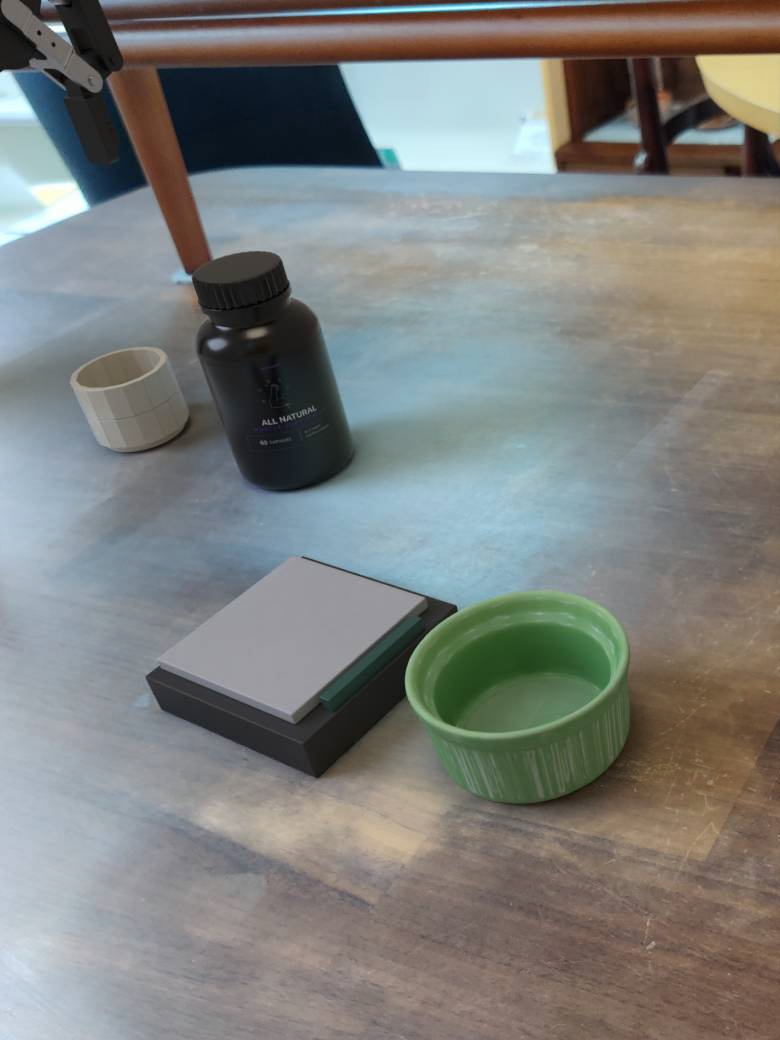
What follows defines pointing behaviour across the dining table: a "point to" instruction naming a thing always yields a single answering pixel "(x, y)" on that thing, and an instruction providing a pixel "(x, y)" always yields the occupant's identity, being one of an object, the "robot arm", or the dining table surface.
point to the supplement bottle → (269, 373)
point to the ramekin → (524, 694)
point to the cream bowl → (131, 398)
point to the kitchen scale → (298, 662)
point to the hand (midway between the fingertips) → (44, 187)
